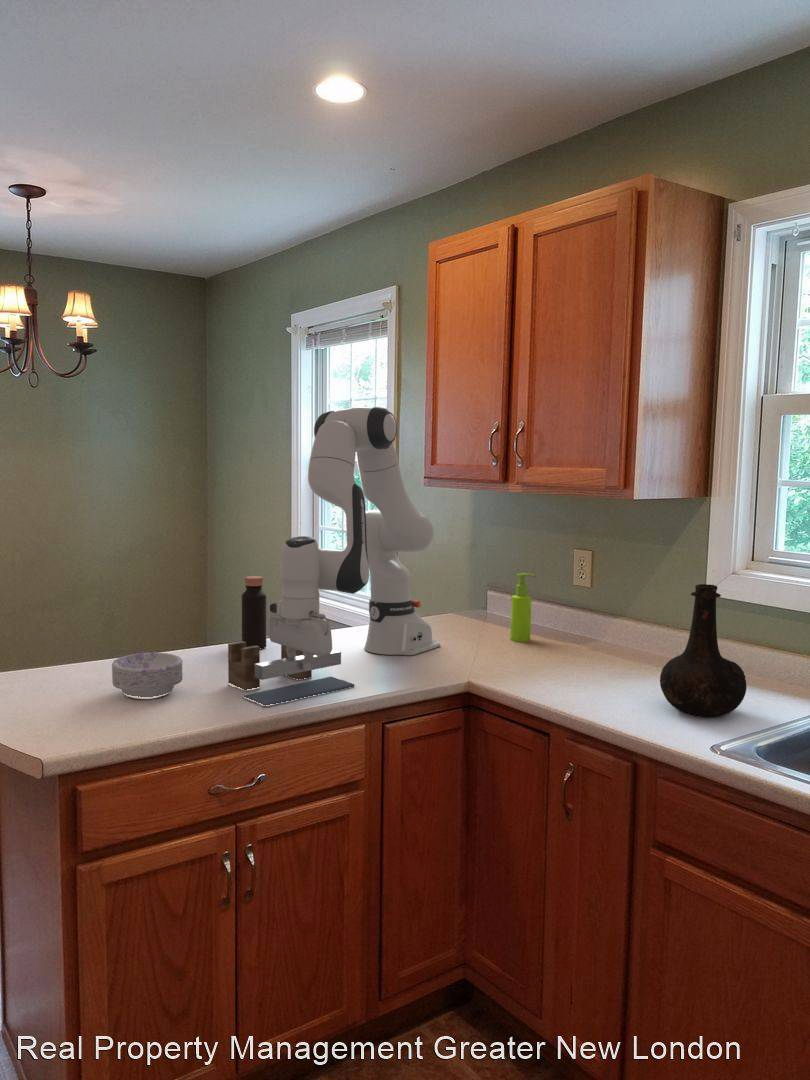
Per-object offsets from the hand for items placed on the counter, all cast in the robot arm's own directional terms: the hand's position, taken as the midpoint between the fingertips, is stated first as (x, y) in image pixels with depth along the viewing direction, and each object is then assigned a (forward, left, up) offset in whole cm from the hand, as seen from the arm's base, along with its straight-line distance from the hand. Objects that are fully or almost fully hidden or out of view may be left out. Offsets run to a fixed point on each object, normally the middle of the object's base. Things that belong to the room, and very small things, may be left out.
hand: (299, 667), depth 191 cm
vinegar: (-16, -44, -6) cm, 47 cm away
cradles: (0, -12, -6) cm, 13 cm away
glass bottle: (-58, +68, -6) cm, 90 cm away
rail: (0, 0, -1) cm, 1 cm away
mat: (0, 0, -6) cm, 6 cm away
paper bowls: (+27, -21, -6) cm, 35 cm away
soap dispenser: (-83, -2, -6) cm, 83 cm away
